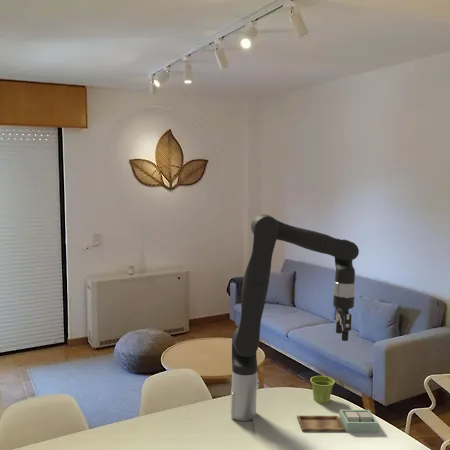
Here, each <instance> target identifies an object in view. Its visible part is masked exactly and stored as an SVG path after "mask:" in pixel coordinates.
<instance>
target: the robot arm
mask: <svg viewBox="0 0 450 450" xmlns="http://www.w3.org/2000/svg"><path fill="white" fill-rule="evenodd" d="M250 228H251V232H252V235H253V242H252V252H251V254H250V257H249V261H248V263H247V266H246V268H245V271H244V276H243V278H242V279H243V281H242V285H241V286H242V287H241V298H240V303H241V305H240V307H241V309H240V311H241V313H240V322H239V327H237V328H236V329H235V330H234V331H233V333H232V335H231V336H232V337H231V368H232V369H231V389H230V415H231V419H232V420H237V421H240V422H241V421H242V422H248V421H252V420H253V419H254V418H255V417H256V416H257V391H258V389H257V387H258V386H257V385H258V360H257V351H258V349H259V347H260V339H261V338H260V337H261V325H262V324H261V323H262V317H263V312H264V309H265V305H266V300H267V295H268V289H269V285H270V277H271V269H272V268H271V267H272V259H273V253H274V250H275V245H276V242H277V241H283V242H286V243H290V244H293V245H295V246H298V247H300V248H302V249H306V250H308V251H312V252H315V253H320V254H322V255H323V254H324V255H325V254H326V255H329V256H332V257H334V264H335V275H334V285H333V297H332V298H333V299H332V301H333V302H332V303H333V304H332V306H333V307H334V321H335V324H336V325H335V333H336V334H338V335H339V334H341V340H342V341H343V342H347V341H349V333H350V332H351V331H352V314H351V313H350V312H349V310H350V309H354V307H355V291H356V287H355V281H356V271H355V267H354V266H353V261H354V260H355V259H357V257H358V256H359V253H360V249H359V247H358V245H357V244H356V243H354V242H353V241H351V240H348V239H341V238H338V237H337V238H336V237H334V236H331V235H329V234H325V233H322V232H319V231H315V230H310V229H306V228H301V227H297V226H293V225H291V224H288V223H284V222H282V221H280V220H278V219H276V218H274V217H273V216H271V215H269V214H259V215H256V216H255V217H254V218H253V220H252V221H251V224H250Z"/></svg>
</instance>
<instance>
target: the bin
mask: <svg viewBox="0 0 450 450" xmlns="http://www.w3.org/2000/svg"><path fill="white" fill-rule="evenodd" d="M338 412H339V415H338V417H339V419H340V421H341V423H342V425H343V426H344V428H345V432H346V433H379V422H378V420H377V419H376V417H375V416H374V414H373V413H372V412H371V410H370V409H339V411H338ZM345 412H356V413H357V412H369V413H370V415H371V416H372V422H348V420H347V418H346V417H345Z"/></svg>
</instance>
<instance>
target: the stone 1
mask: <svg viewBox="0 0 450 450" xmlns="http://www.w3.org/2000/svg"><path fill="white" fill-rule="evenodd" d="M345 417H346V418H347V420H348V422H359V416H358V414H357V413H356V412H345Z"/></svg>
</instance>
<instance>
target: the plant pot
mask: <svg viewBox="0 0 450 450" xmlns="http://www.w3.org/2000/svg"><path fill="white" fill-rule="evenodd" d="M310 383H311V385H312V386H311V387H312V394H313V395H312V396H313V400H314V402H316V403H317V404H328V403H330V399H331V394H332V391H333V387H334V385H335V380H334V378H331V377H329V376H325V375H316V376H312V377H310Z"/></svg>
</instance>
